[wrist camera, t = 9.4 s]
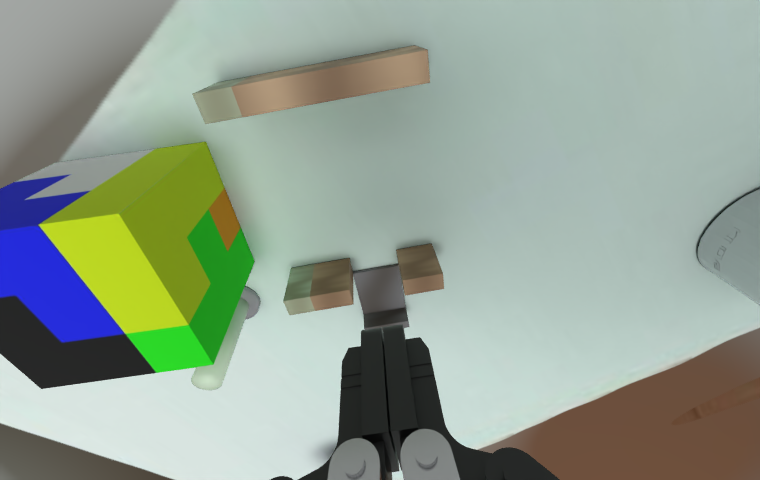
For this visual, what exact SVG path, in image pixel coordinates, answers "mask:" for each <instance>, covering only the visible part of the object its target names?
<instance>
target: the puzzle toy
mask: <svg viewBox="0 0 760 480" xmlns="http://www.w3.org/2000/svg"><path fill="white" fill-rule="evenodd" d="M254 262H255V261H254V259H253V256H252V254H251V252H250V249H249V247H248V244H247V242H246V239H245V237H244V234H243V232H242V229H241V227H240V224H239V222H238V220H237V217H236V215H235V212H234V210H233V207H232V205H231V202H230V200H229V197H228V195H227V192H226V190H225V188H224V185H223V183H222V180H221V178H220V175H219V173H218V170H217V168H216V165H215V163H214V161H213V158H212V156H211V153H210V151H209V148H208V146H207V143H206V142H200V143H193V144H186V145H179V146H172V147H164V148H157V149H150V150H143V151H136V152H128V153H121V154H114V155H107V156H100V157H92V158H85V159H78V160H71V161H64V162H56V163H54V164H52V165H50V166H47V167H46V168H43V169H41V170H39V171H37V172H35V173H33V174H31V175H28V176H26V177H24V178H22V179H20V180H18V181H16V182H14V183H12V184H10V185H7V186H5V187H3V188H1V189H0V354H2V355H3V356H4V357H5V358H6V359H7V360H8V361H10V362H11V363H12V364H13V365H14V366H15V367H17V368H18V369H19V370H20V371H21V372H22V373H24V374H25V375H26V376H27V377H28V378H29V379H31V380H32V381H33V382H34V383H35V384H36V385H38V386H39V387H40V388H41V389H44V388H51V387H58V386H65V385H73V384H80V383H87V382H94V381H101V380H108V379H115V378H123V377H130V376H137V375H144V374H151V373H158V372H165V371H173V370H180V369H187V368H194V367H201V366H208V365H214V362H215V360H216V357H217V355H218V352H219V350H220V347H221V345H222V342H223V340H224V337H225V335H226V332H227V330H228V327H229V325H230V322H231V320H232V317H233V315H234V312H235V310H236V307H237V305H238V302H239V300H240V297H241V295H242V292H243V289H244V287H245V284H246V282H247V279H248V277H249V274H250V272H251V269H252V267H253V264H254Z"/></svg>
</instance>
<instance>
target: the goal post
mask: <svg viewBox="0 0 760 480" xmlns="http://www.w3.org/2000/svg"><path fill="white" fill-rule="evenodd" d="M259 306H260V299H259V296H258V295H257V294H256V293H255V292H254V291H253V290H252V289H250V288H248V287H244V289H243V292H242V295H241V297H240V300H239V302H238V305H237V307H236V310H235V312H234V315H233V317H232V320H231V322H230V325H229V327H228V330H227V332H226V335H225V337H224V340H223V342H222V345H221V347H220V350H219V352H218V355H217V357H216V360H215V362H214V365H208V366H201V367H196V369H195V372H194V374H193V376H192V378H191V382H192V384H193V385H194V386H196V387H197V388H200V389H203V390H215V389H218V388H220V387H221V385H222V383H223V380H224V377H225V374H226V372H227V369H228V366H229V363H230V360H231V357H232V355H233V352H234V349H235V346H236V343H237V340H238V338H239V335H240V332H241V329H242V326H243V323H244V321H245V319H249V318H251V317H253V316H254V315H255V314H256V313H257V312H258V309H259Z"/></svg>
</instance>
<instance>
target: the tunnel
mask: <svg viewBox="0 0 760 480" xmlns="http://www.w3.org/2000/svg"><path fill="white" fill-rule="evenodd" d="M425 83H430V77H429V62H428V50H427V49H424V48H421V47H418V46H415V45H414V46H409V47H403V48H398V49H393V50H387V51H382V52H377V53H371V54H366V55H361V56H355V57H350V58H345V59H340V60H334V61H329V62H324V63H318V64H313V65H308V66H302V67H297V68H292V69H286V70H281V71H276V72H270V73H265V74H260V75H254V76H249V77H244V78H239V79H233V80H228V81H223V82H218V83H216V84H213V85H211V86H209V87H207V88H205V89H202V90H200V91H198V92H196V93H193V94H192V95H193V97H194V99H195V101H196V104H197V106H198V108H199V110H200V113H201V115H202V117H203V120H204V122H205V124H209V123H214V122H220V121H225V120H231V119H236V118H241V117H247V116H252V115H258V114H263V113H268V112H274V111H279V110H285V109H290V108H295V107H301V106H306V105H311V104H317V103H322V102H328V101H333V100H338V99H344V98H349V97H355V96H360V95H365V94H371V93H376V92H382V91H387V90H392V89H398V88H403V87H408V86H414V85H419V84H425ZM396 251H397V257H398V264H394V265H388V266H383V267H377V268H371V269H365V270H360V271H354V272H353V270H352V266H351V262H350V258H346V259H341V260H335V261H329V262H323V263H318V264H312V265H306V266H301V267H295V268H291V271H290V275H289V279H288V284H287V288H286V292H285V296H284V300H283V302H284V304H285V306H286V308H287V311H288V313H289V315H294V314H300V313H306V312H312V311H317V310H323V309H329V308H335V307H341V306H346V305H352V304H353V276H354V280H355V283H356V287H357V291H358V295H359V299H360V302H361V306H362V310H363V314H364V329H365V330H368V329H374V328H381V327H382V330H383V327H387V326H394V325H400V324H403V328H406V327H409V322H408V317H407V312H406V307H405V300H404V294H403V288H404V293H405V295H410V294H416V293H422V292H428V291H434V290H439V289H444V282H443V272H442V270H441V267H440V265H439V262H438V259H437V257H436V254H435V251H434V249H433V246H432V244H426V245H420V246H415V247H409V248H403V249H398V250H396ZM399 268H400V269H399ZM400 273H401V275H400ZM401 278H402V282H401ZM402 283H403V288H402Z"/></svg>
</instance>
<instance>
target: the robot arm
mask: <svg viewBox="0 0 760 480" xmlns="http://www.w3.org/2000/svg"><path fill="white" fill-rule="evenodd" d="M698 258H699V262H700V263H701V264H702V265H703V266H704V267H705V268H706V269H708V270H709V271H711V272H712V273H714V274H715V275H717V276H718V277H720V278H721V279H723V280H724V281H725V282H727V283H728V284H730V285H731V286H733V287H734V288H736V289H737V290H739V291H740V292H742V293H743V294H744V295H746V296H747V297H748V298H750V299H751V300H753V301H754V302H756V303H757V304H759V305H760V189H759V190H756V191H754V192H752V193H750V194H748V195H746V196H745V197H743V198H741V199H740V200H738V201H736V202H735V203H734V204H732V205H731V206H730V207H728V208H727V209H726V210H724V211H723V212H722V213H721V214H720V215H719V216H718V217H717V218H716V219H715V220H714V221H713V222H712V224H711V225H710V226H709V227H708V229H707V230H706V231H705V233H704V235H703V237H702V238H701V241H700V244H699V247H698ZM398 460H399V462H398ZM399 463H400V467H401V471H402V472H403V478H404V480H559V479H558V478H557V477H555V475H553V474H552V473H551V472H550V471H548V470H547V469H546V468H545V467H543V466H542V465H541V464H540V463H538V462H537V461H536V460H535V459H534V458H532V457H531V456H530V455H528V454H527V453H525V452H523V451H521V450H519V449H516V448H502V449H499V450H497V451H495V452H494V453H493V454H492V453H487V452H483V451H479V450H475V449H471V448H468V447H465V446H463V445H462V444H460V443H458V442H457V441H456V440H455V439H454V438H453V437H452V436H451V435H450V433H449V432H448V430H447V428H446V426H445V422H444V418H443V413H442V409H441V404H440V399H439V395H438V390H437V385H436V381H435V377H434V371H433V367H432V362H431V357H430V353H429V349H428V347H427V346H426V345H425V343H424V342H423V341H422V339H421V338H420V337H419V338H412V339H405V333H404V328H403V324H400V325H394V326H387V327H383V330H382V327H381V328H374V329H368V330H362V331H361V346H359V347H352V348H348V351H347V353H346V355H345V357H344V359H343V361H342V379H341V396H340V415H339V435H338V442H337V446H336V448H335V451H334V452H333V454H332V456H331V457H330V459H329V460H328V461H327V462H326V463H325V464H324V465H323V466H321V467H320V468H319V469H317V470H315V471H313V472H311V473H310V474H308V475H306V476H304V477H302V478H300V479H298V480H392V472H396V471H399ZM271 480H293V479H291V478H289V477H285V476H279V477H275V478H273V479H271Z"/></svg>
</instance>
